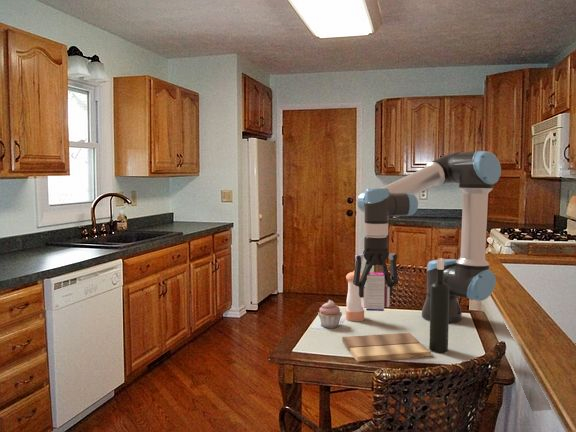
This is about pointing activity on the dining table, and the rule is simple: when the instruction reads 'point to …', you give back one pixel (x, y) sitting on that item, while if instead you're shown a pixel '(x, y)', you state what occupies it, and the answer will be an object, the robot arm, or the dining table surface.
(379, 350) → the laid plank
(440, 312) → the wine bottle
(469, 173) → the robot arm
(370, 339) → the board
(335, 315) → the cupcake
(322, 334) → the dining table surface
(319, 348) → the dining table surface
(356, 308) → the peach and white cylinder
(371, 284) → the supplement box
